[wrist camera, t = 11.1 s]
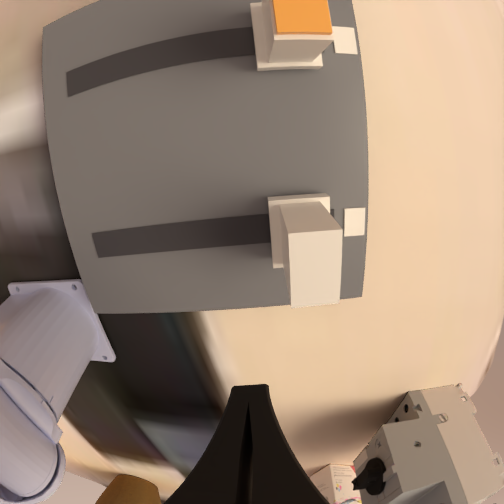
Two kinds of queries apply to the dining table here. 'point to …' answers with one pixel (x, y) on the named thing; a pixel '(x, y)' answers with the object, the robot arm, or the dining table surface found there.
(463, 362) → the dining table surface
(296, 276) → the block
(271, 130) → the breaker panel
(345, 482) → the ink cartridge box
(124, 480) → the plant pot
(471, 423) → the circuit breaker
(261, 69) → the block
